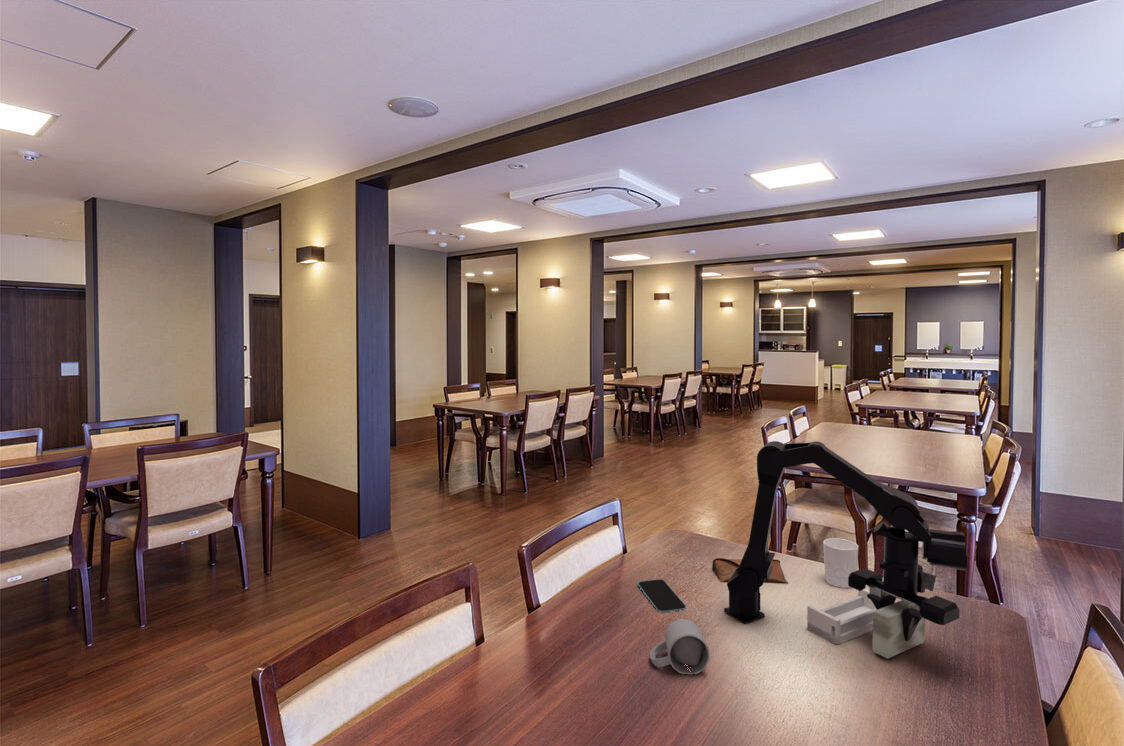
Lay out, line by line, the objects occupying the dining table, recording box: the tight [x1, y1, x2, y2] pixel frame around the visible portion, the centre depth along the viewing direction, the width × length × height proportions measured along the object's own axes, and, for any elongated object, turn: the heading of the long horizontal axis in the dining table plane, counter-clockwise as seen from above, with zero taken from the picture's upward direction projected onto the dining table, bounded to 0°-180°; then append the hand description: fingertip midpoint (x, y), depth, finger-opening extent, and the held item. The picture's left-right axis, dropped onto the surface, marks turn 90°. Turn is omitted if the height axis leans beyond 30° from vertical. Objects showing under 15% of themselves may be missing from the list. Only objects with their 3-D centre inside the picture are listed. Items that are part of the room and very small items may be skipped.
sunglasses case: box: [711, 557, 789, 585], centre depth 143 cm, size 18×7×7 cm, turn 86°
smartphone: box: [637, 578, 687, 613], centre depth 132 cm, size 7×1×15 cm
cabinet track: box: [806, 588, 877, 646], centre depth 118 cm, size 18×7×5 cm, turn 117°
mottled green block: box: [872, 599, 926, 659], centre depth 108 cm, size 12×3×8 cm, turn 117°
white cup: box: [822, 537, 859, 589], centre depth 138 cm, size 8×8×10 cm
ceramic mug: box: [649, 618, 710, 675], centre depth 105 cm, size 11×8×8 cm
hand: (899, 636), depth 108 cm, fingers closed on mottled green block, 3 cm apart
